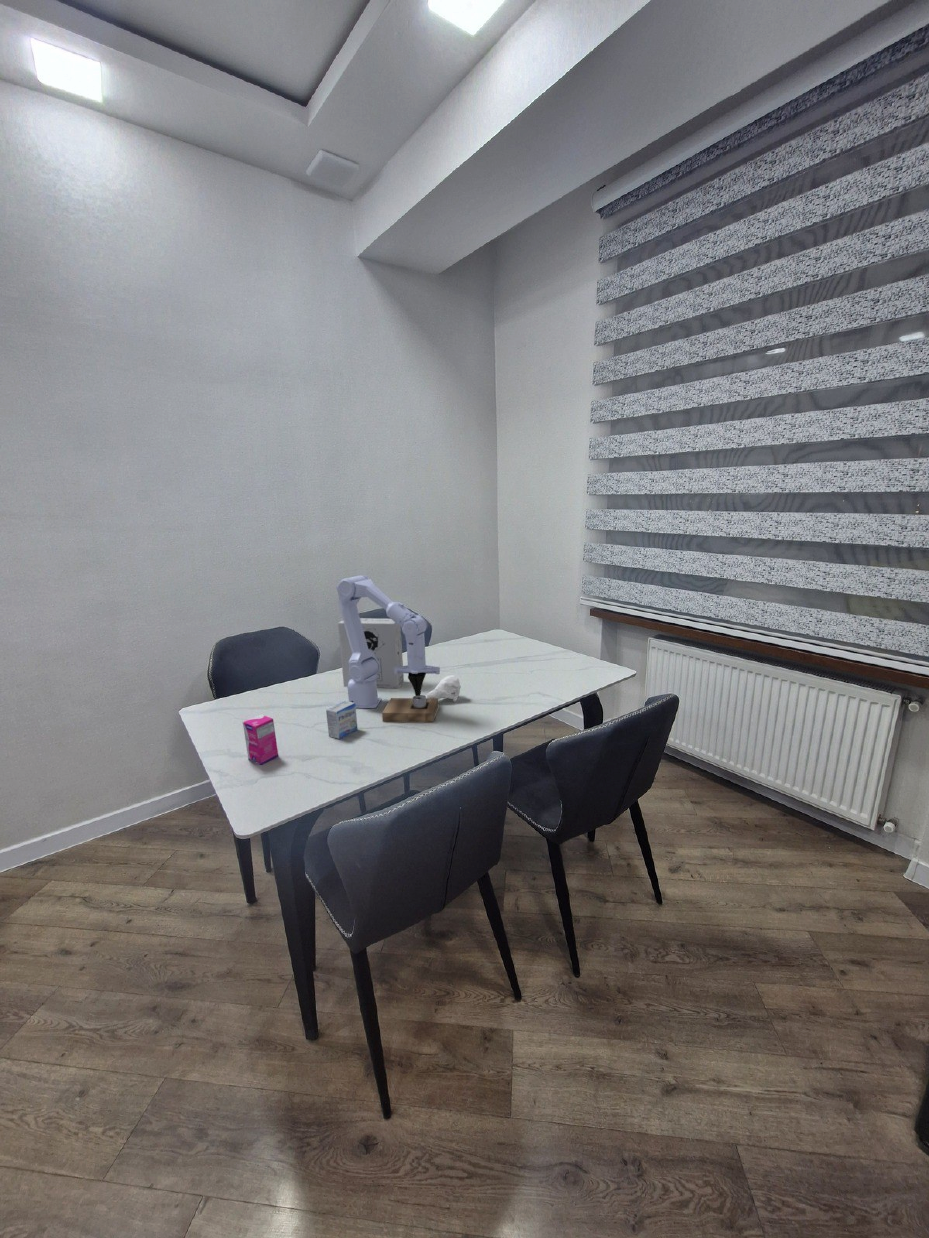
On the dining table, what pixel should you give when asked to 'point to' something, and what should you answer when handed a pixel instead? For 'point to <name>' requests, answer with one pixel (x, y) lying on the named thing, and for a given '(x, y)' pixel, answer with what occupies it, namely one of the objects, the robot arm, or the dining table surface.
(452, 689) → the white lumpy piece
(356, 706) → the robot arm
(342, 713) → the medicine box
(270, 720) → the supplement box
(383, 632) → the cereal box
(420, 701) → the grey dome knob
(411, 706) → the jig
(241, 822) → the dining table surface
